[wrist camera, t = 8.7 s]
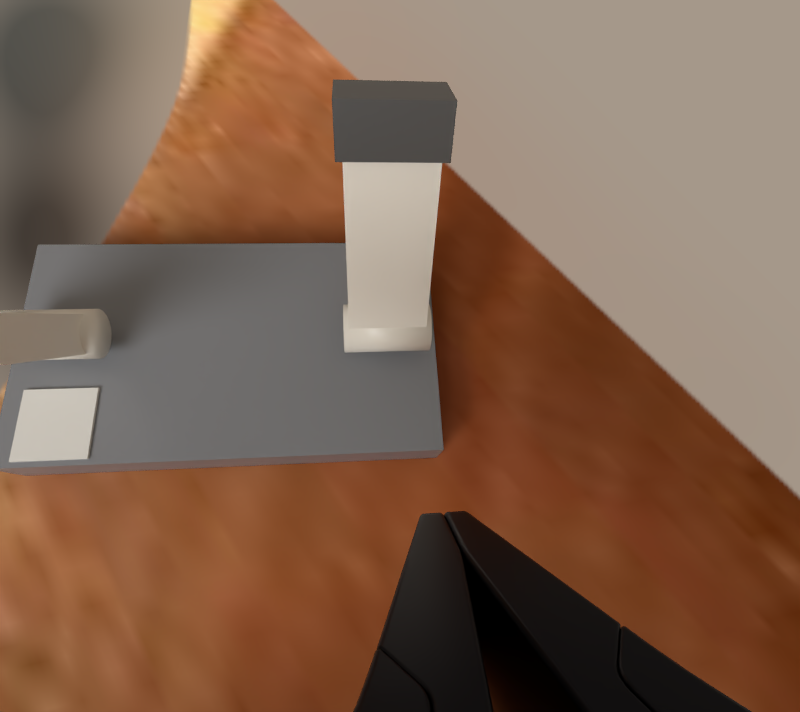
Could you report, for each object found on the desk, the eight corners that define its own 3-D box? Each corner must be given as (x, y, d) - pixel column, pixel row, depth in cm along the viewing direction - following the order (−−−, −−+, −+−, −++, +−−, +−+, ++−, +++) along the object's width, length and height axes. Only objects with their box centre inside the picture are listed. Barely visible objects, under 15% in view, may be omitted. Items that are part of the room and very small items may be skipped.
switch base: (436, 457, 20) (443, 449, 18) (25, 475, 19) (-15, 468, 17) (421, 265, 23) (426, 241, 21) (65, 269, 22) (36, 243, 20)
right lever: (429, 360, 19) (457, 100, 13) (345, 362, 19) (332, 98, 12) (424, 330, 20) (446, 82, 14) (345, 331, 20) (333, 79, 14)
